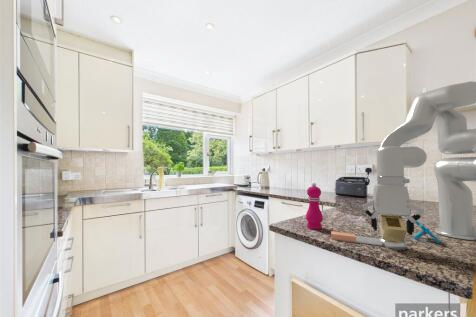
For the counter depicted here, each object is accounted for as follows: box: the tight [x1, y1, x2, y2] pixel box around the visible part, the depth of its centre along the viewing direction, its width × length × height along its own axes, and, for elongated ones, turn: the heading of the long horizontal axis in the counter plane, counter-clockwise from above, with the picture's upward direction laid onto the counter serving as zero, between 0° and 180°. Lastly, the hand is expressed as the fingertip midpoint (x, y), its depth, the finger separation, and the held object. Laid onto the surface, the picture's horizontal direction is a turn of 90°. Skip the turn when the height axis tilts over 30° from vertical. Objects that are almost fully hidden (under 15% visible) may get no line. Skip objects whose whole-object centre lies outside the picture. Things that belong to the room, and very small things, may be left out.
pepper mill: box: [305, 182, 324, 231], centre depth 90 cm, size 7×7×20 cm
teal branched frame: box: [412, 220, 442, 244], centre depth 76 cm, size 11×6×10 cm
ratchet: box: [330, 230, 406, 251], centre depth 73 cm, size 22×7×6 cm, turn 66°
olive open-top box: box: [378, 214, 407, 242], centre depth 68 cm, size 6×6×6 cm
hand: (391, 231), depth 69 cm, fingers open, 9 cm apart
